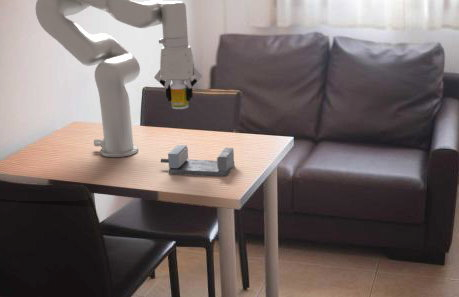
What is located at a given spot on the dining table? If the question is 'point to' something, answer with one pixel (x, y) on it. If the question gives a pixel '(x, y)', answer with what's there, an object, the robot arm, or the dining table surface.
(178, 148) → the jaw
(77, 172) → the dining table surface
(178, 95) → the supplement bottle
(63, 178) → the dining table surface
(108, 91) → the robot arm
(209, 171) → the vise bed
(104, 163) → the dining table surface
